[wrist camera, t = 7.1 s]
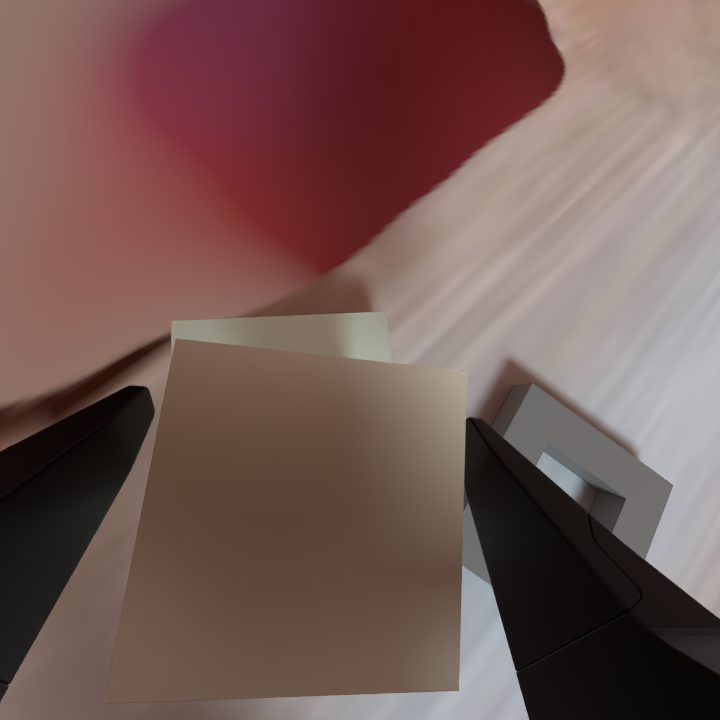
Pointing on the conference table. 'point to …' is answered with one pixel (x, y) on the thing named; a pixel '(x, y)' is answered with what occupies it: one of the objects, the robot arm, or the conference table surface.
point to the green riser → (297, 333)
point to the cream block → (296, 530)
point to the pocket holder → (577, 470)
